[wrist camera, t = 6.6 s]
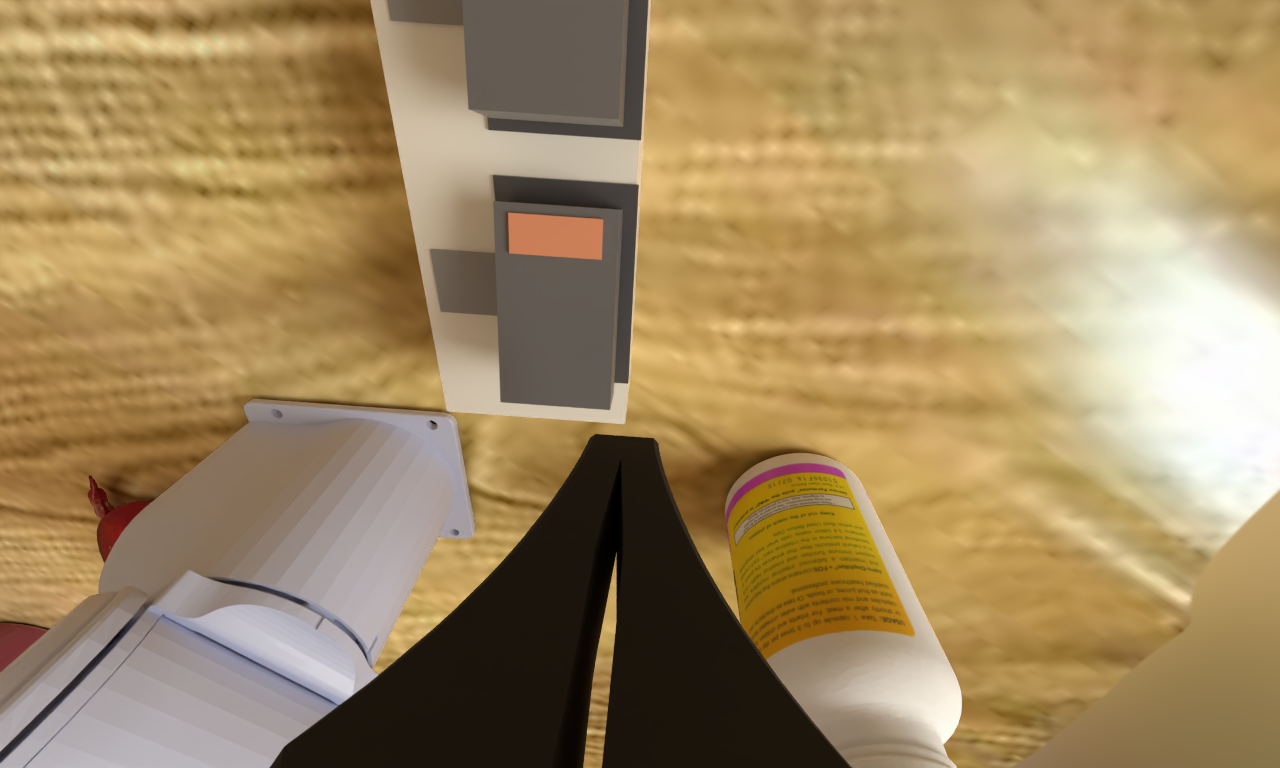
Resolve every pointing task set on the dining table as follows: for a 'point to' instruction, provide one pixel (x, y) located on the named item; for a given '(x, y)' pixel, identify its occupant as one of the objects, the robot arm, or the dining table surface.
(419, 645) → the robot arm
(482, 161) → the rocker switch panel
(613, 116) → the rocker
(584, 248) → the block
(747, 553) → the supplement bottle
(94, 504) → the decorative bird figurine
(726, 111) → the dining table surface
